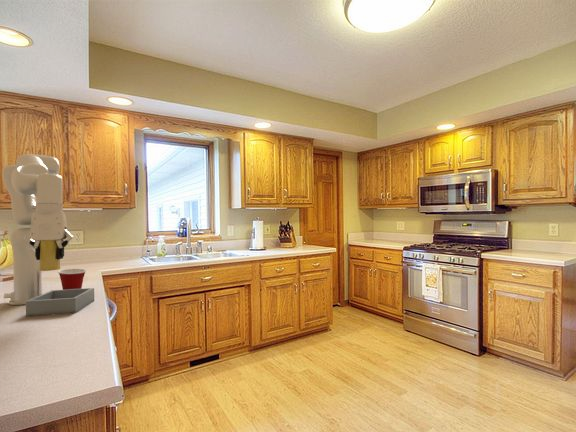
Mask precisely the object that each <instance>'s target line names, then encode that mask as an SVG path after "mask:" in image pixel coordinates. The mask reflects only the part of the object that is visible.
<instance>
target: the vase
mask: <svg viewBox="0 0 576 432" xmlns="http://www.w3.org/2000/svg"><path fill="white" fill-rule="evenodd" d="M57 248H58V245H57V243H56V240H54V241H49V240H44V241H40V265H39V270H40V271H42V272H49V271H56V270H58V271H59V270H61V259H57Z"/></svg>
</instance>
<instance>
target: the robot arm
mask: <svg viewBox="0 0 576 432" xmlns="http://www.w3.org/2000/svg"><path fill="white" fill-rule="evenodd" d="M60 170H61V166H60V161H59V160H58V159H57V158H56V157H54V156H51V155H44V154H35V153H23V154H20V155H19V156H18V157H17V158H16V160H15V164H9V165H6V166H4V167H3V169H2V173H1V174H2V181H3V184H4V187H5V189H6V190H7V192H8V194H9V196H10V203H11V213H12V220H13V223H14V224H15V225H16V226H17V227H22V228H17V229H14V230H13V231H11V234H10V236H9V238H10V239H9V240H10V245H11V250H12V258H13V260H12V262H13V263H12V264H13V265H12V266H13V268H12V269H13V291H12V292H6V293H3V299H10V300H9V301H8V304H9V305H11V306H21V305H26V301H28V300H30V299H33V298H35V297H37V296H40V295H42V294H43V271H40V270H39V265H40V241H44V240H49V241H54V240H56V243H57V245H58V248H57V259H60V260H62V259H64V256H65V248H66V247H67V245H69V244H70V242H73V240H74V239H75V237H74V235H73V234H71V233H70V231H68V223H67V217H66V213H65V212H63V210H64V209H63V207H64V206H63V198H64V197H63V189H64V188H63V187H64V186H63V177H62V176H61V175H59V173H60Z"/></svg>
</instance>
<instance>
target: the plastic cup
mask: <svg viewBox="0 0 576 432" xmlns="http://www.w3.org/2000/svg"><path fill="white" fill-rule="evenodd" d="M86 272H87V269H84V268H67V269H59V270H58V271H57V273H58V275H59V278H60V283H61V287H62V290H67V289H83V288H82V287H83V283H84V277H85V275H86Z"/></svg>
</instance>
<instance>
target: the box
mask: <svg viewBox="0 0 576 432" xmlns="http://www.w3.org/2000/svg"><path fill="white" fill-rule="evenodd" d="M93 302H95V287H89V288H88V287H87V288H81V289H67V290H63V289H55V290H53V289H52V290H50V291H47V292H45V293H42V295H40V296H37V297H35V298H33V299H30V300H28V301H26V304H25V317H40V316H42V317H43V316H52V314H55V315H66V314H76V313H78V312H79V311H81V310H83V309H84V308H86V307H88V306H89V305H90V304H91V303H93Z"/></svg>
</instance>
